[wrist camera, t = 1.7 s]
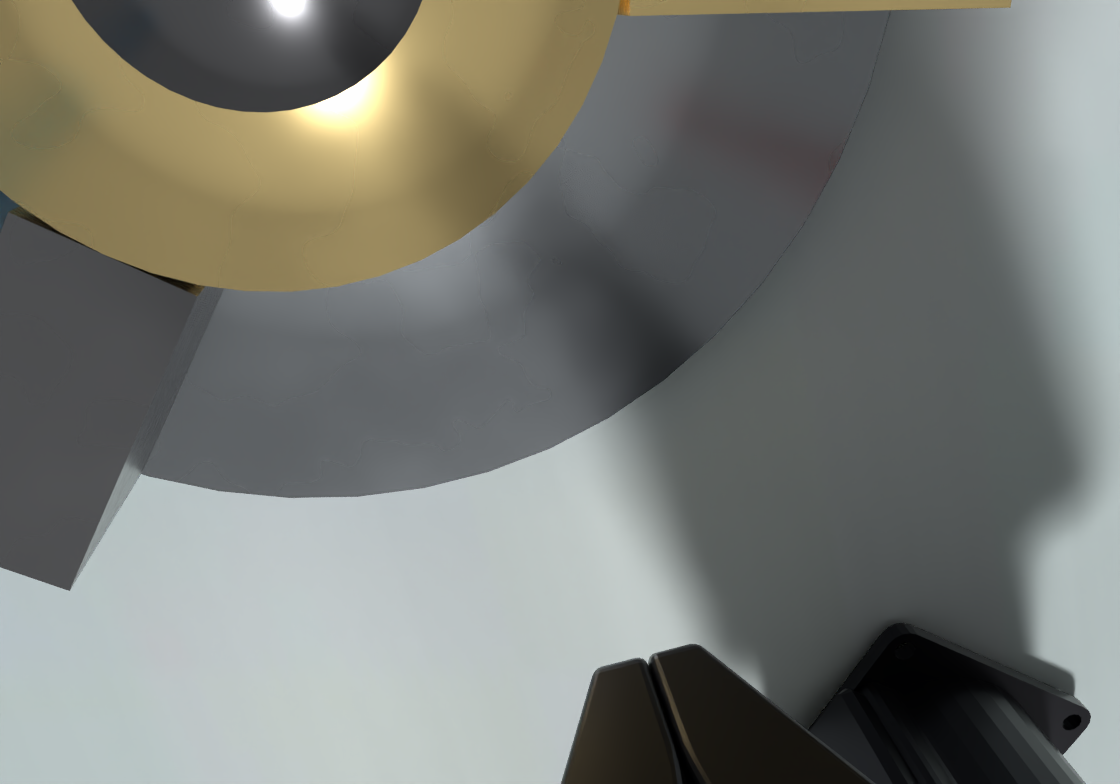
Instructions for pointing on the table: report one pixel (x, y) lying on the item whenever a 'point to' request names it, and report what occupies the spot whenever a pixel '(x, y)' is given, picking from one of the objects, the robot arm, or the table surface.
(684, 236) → the flange plate
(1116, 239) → the table surface
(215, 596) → the table surface
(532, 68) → the ring nut
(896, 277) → the table surface
